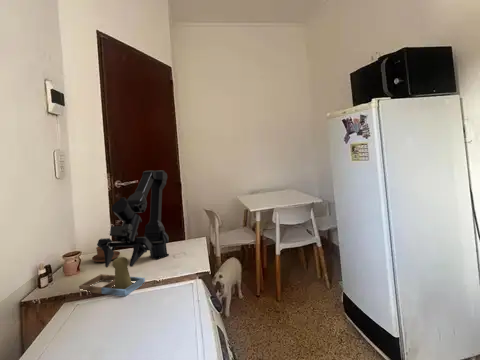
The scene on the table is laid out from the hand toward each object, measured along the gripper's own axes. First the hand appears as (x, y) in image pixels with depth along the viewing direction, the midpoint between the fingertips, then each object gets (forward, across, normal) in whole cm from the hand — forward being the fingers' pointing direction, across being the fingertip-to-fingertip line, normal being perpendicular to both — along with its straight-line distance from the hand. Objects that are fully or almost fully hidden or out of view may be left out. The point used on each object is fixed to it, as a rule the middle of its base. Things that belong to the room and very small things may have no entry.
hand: (118, 266), depth 118 cm
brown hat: (-16, -25, +29) cm, 42 cm away
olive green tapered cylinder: (+5, 0, +7) cm, 9 cm away
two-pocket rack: (+4, -5, +8) cm, 10 cm away
